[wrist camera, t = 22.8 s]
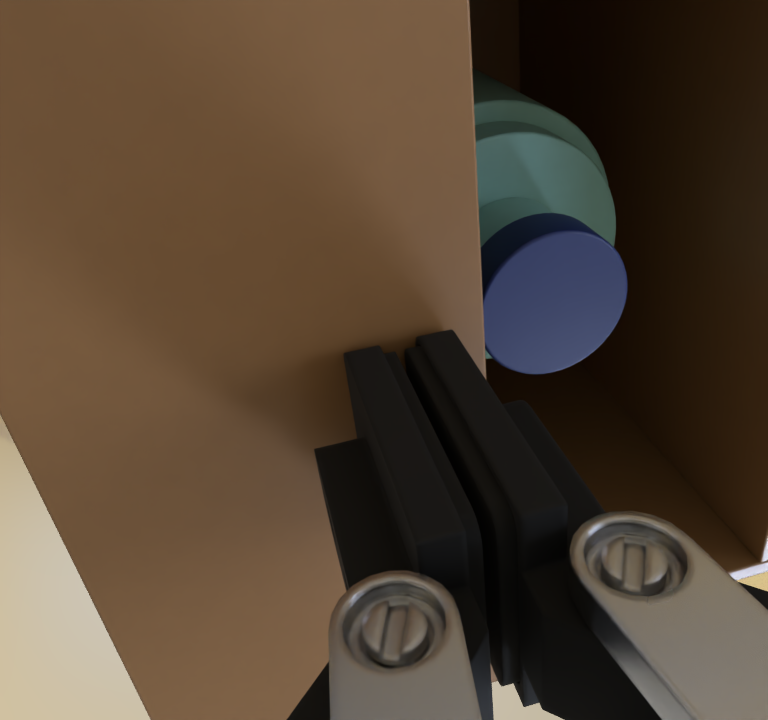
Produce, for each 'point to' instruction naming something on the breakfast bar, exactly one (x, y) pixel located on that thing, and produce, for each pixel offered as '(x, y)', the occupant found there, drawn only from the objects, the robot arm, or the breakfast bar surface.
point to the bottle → (542, 234)
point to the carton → (662, 253)
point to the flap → (221, 301)
